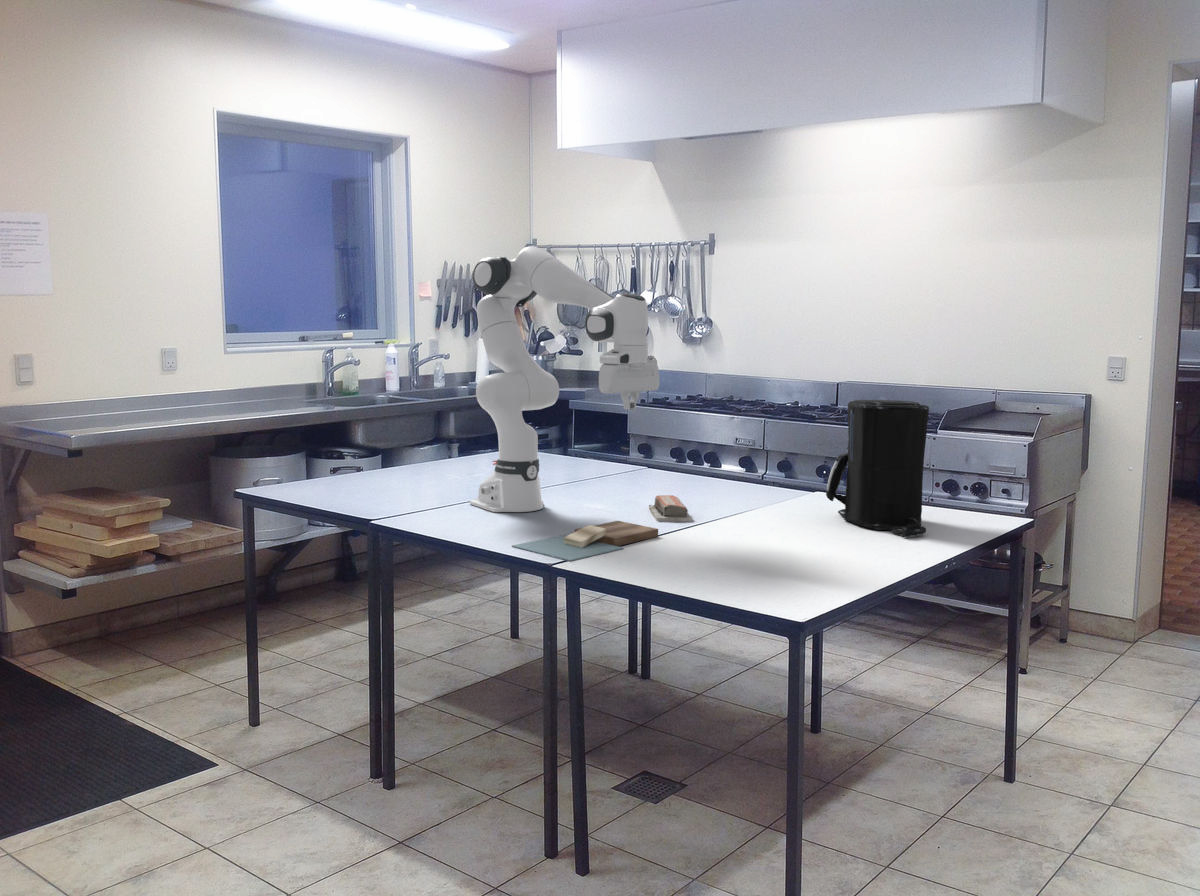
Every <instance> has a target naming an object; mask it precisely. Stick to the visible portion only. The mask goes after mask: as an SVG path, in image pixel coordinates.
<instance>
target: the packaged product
mask: <svg viewBox="0 0 1200 896" xmlns="http://www.w3.org/2000/svg"><path fill="white" fill-rule="evenodd" d="M648 510H649V512H650V513H651V515H652V517H653V518H654V519H655V521H656V522H657V521H659V522H661V521H669V522H670V523H671V521H675V522H677V523H678V522H688V521H689V522H693V517H692V516H691V515H690V514H689V513H688V512H689V510H688V508H687V507H686V506H685V504H684V503H683V502H682V501H681V499H680V498H679V497H678V496H676V495H672V494H670V495H669V494H668V495H667V494H666V495H656V496H655V499H654V505H652V504H649V505H648Z"/></svg>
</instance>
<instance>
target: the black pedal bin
mask: <svg viewBox="0 0 1200 896" xmlns="http://www.w3.org/2000/svg"><path fill="white" fill-rule="evenodd" d="M929 412H930V406H928V405H926V404H920V403H919V402H916V401H911V400H910V401H908V400H894V399H893V400H892V399H891V400H890V399H851V400H850V401H848V403H847V424H848V425H847V426H848V429H847V430H848V432H847V433H848V441H847V442H848V444H847V448H846V449H847V452H846V453H841V454H838V456H837V457H836V459H835V461H834V464H833V465H832V467H831V469H830V472H829V476H828V480H827V485H826V492H825V496H826V498H827V499H828V500H829V501H831V502H833V501H834V499H836V500H837V501H838V502H840V503H841V504H843V505H844V508H842V509H839V510H837V513H838V514H839V515H840V516H842V517H843V518H844V519H843V520H844V521H845V522H850V523H852V524H855V525H857V526H861V527H864V528H867V529H874V530H876V531H892V534H894V535H898V536H901V538H904V537H905V538H907V537H913V536H918V535H924V534H925V533H926V532H927V528H926V527H925V526H922V511H923V483H924V482H923V481H924V479H923V477H924V464H925V451H926V443H927V434H928V433H927V432H928V425H929V424H928V422H929ZM846 467H847V471H846V472H847V475H846V476H847V477H846V487H845V495H842V494H839V493H838V494H837V492H838V488H839V487H840V485H841V484H840V483H841V481H842V478H843V475H844V472H845V470H846ZM913 529H917V530H913ZM905 538H904V539H905Z"/></svg>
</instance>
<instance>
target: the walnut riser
mask: <svg viewBox="0 0 1200 896" xmlns="http://www.w3.org/2000/svg"><path fill="white" fill-rule="evenodd" d="M593 526H596V527H601V528H606V531H607V534H606V535H605V536H603V537H601V538H599V539H597V540H595V541H597V542H601V543H605V544H610V545H614V546H618V547H621V546H625V545H628V544H632V543H637V542H642V541H645V540H649V539H653V538H657V537H659V528H656V527H650V526H647V525H642V524H641V525H640V524H638V523H637V524H636V523H631V522H626V521H621V520H614V521H609V522H603V523H599V524H595V525H594V524H593ZM582 528H583V527H580V528H576V529H574V531H573V533H574V532H576V531H578V530H580V529H582Z"/></svg>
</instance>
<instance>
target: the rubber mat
mask: <svg viewBox="0 0 1200 896" xmlns="http://www.w3.org/2000/svg"><path fill="white" fill-rule="evenodd" d="M568 535H569V534H566V533H565V534H561V535H556V536H551V537H546V538H542V539H537V540H532V541H527V542H522V543H518V544H513V545H511V547H512V548H515V549H519V550H522V551H523V550H524V551H528V552H532V553H535V552H536V554H539V553H541V554H540V555H543V554H545V555H544V556H547V555H549V556H548V557H551V556H554V557H553V558H555V557H557V558H556V559H559V558H561V559H560V560H563V559H564V560H563V561H568V562H573V561H577V560H581V559H582V560H583V559H586V558H590V557H595V556H598V555H603V554H607V553H612V552H616V551H620V550H624V547H623V546H614V545H610V544H605V543H601V542H597V541H593V542H591V543H590V544H588V545H586V546H584V547H582V548H581V547H577V546H573V545H568V544H564V539H563V538H564V537H566V536H568Z"/></svg>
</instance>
